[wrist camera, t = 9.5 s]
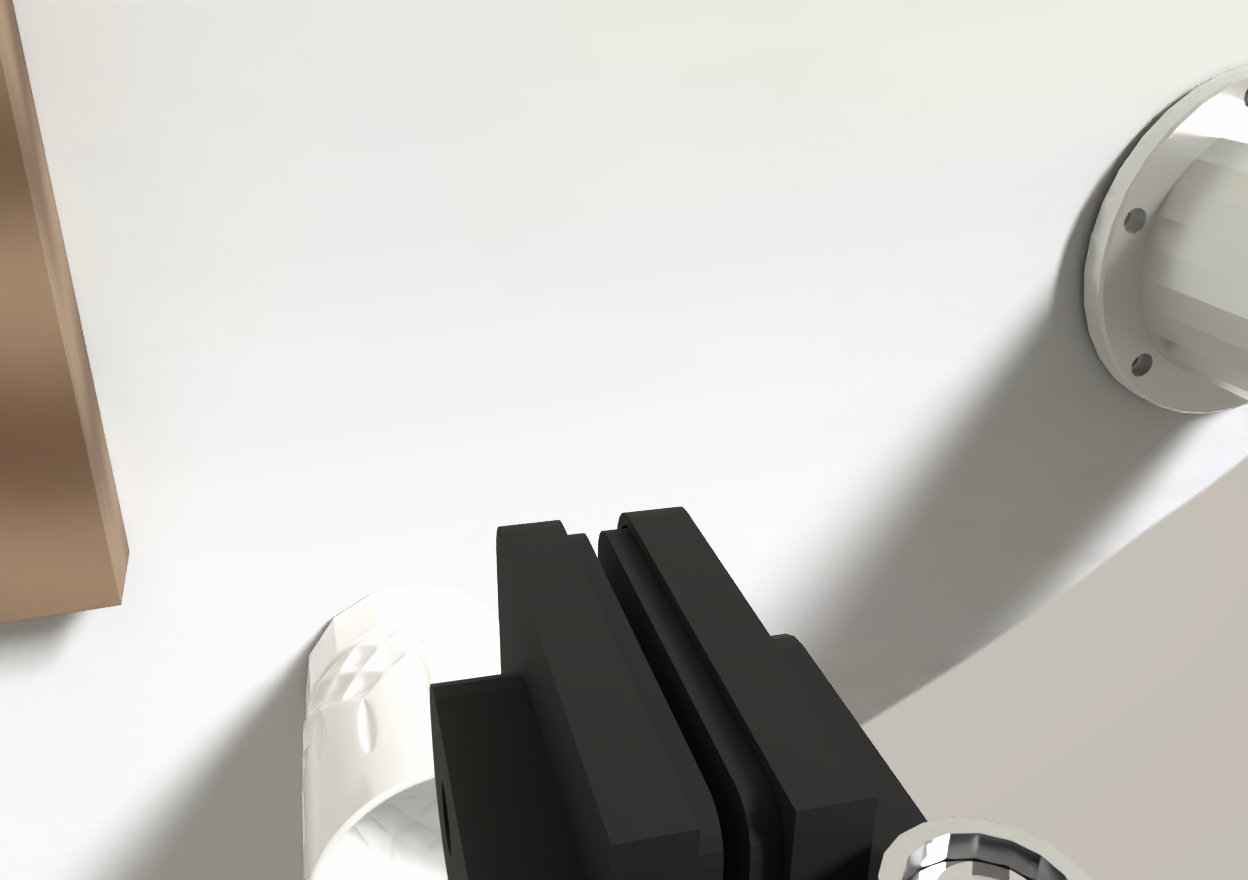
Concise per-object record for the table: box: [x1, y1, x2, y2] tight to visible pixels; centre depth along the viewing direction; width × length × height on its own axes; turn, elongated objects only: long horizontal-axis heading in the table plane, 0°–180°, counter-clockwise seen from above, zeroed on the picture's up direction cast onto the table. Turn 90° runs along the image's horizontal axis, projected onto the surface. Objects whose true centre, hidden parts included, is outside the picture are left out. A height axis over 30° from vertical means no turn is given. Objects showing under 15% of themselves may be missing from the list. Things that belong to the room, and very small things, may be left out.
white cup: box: [302, 583, 501, 880], centre depth 34 cm, size 8×8×10 cm
